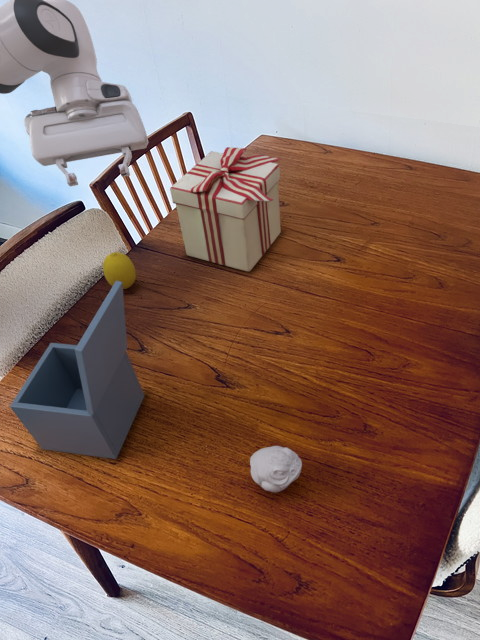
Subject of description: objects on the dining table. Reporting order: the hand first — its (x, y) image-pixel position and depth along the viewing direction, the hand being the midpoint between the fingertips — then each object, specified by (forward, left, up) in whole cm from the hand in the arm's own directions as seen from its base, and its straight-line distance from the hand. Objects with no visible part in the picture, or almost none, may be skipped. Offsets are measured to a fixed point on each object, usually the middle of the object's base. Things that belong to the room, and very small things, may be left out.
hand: (99, 180), depth 94 cm
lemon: (+5, -11, -16) cm, 20 cm away
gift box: (+24, +5, -16) cm, 29 cm away
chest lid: (+19, -41, +1) cm, 45 cm away
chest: (+12, -41, -16) cm, 45 cm away
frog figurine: (+41, -47, -16) cm, 64 cm away
